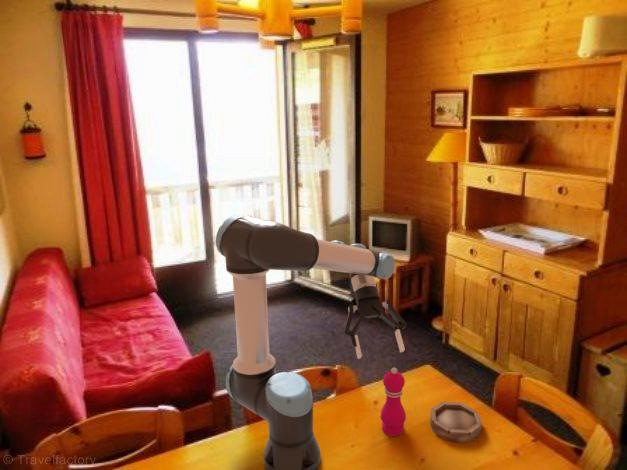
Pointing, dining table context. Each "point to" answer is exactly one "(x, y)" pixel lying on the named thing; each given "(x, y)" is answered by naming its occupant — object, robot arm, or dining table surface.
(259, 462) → the dining table surface
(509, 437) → the dining table surface
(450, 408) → the bowl
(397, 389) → the pepper mill
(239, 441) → the dining table surface
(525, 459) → the dining table surface
